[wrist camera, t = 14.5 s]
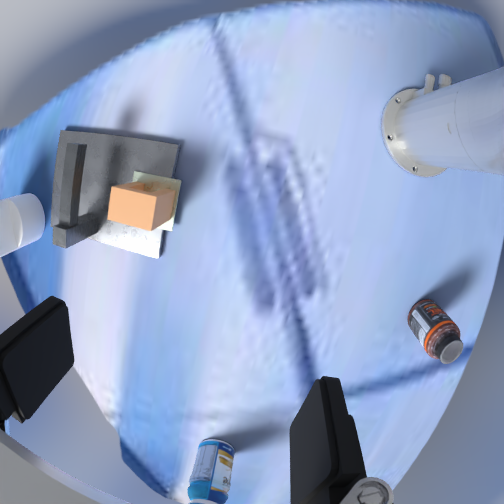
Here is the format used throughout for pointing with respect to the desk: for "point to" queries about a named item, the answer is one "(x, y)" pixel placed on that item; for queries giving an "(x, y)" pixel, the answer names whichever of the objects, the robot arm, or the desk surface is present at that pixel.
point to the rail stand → (108, 188)
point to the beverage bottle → (211, 473)
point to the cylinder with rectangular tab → (20, 222)
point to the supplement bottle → (435, 331)
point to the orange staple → (140, 206)
